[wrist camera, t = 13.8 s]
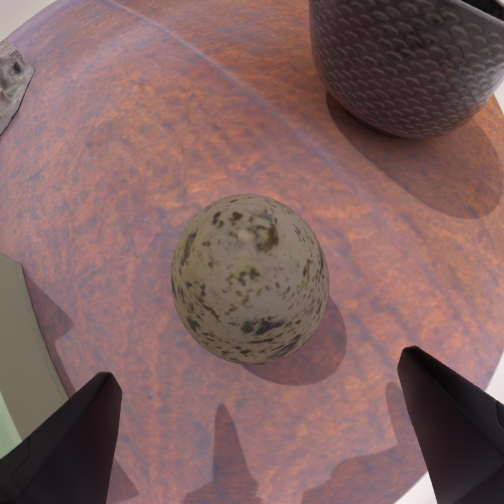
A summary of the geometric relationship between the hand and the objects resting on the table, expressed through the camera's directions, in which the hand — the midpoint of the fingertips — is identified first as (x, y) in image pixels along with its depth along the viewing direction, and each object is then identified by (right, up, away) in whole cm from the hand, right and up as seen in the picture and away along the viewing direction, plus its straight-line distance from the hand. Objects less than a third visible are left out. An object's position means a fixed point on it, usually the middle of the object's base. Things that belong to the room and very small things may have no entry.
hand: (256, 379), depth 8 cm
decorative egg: (0, +1, +8) cm, 8 cm away
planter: (+11, +16, +12) cm, 23 cm away
